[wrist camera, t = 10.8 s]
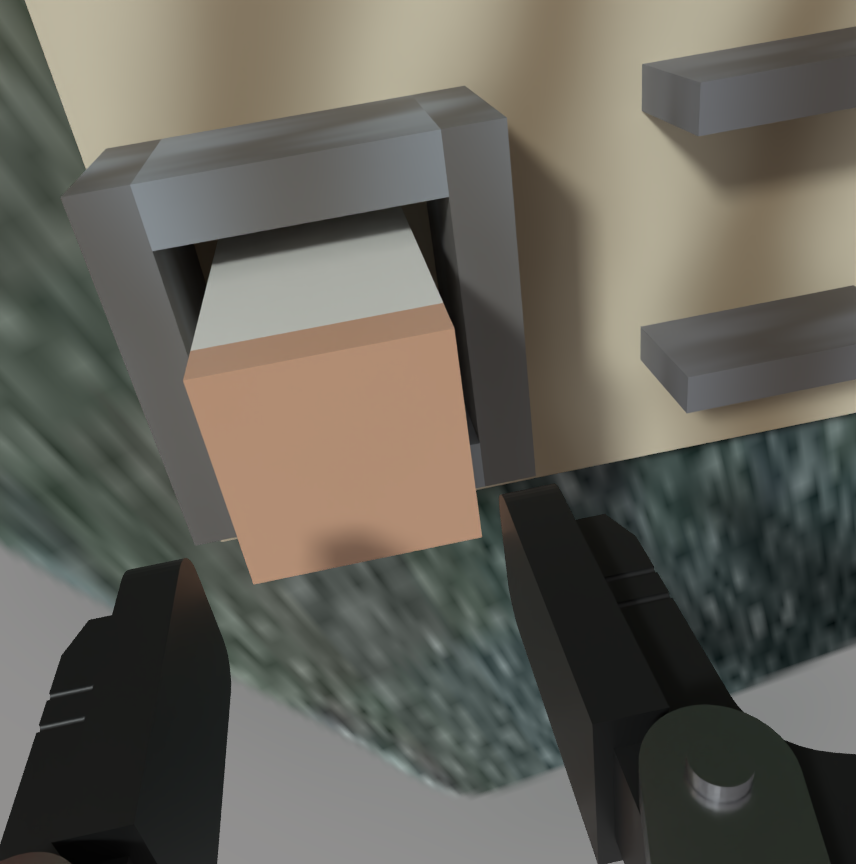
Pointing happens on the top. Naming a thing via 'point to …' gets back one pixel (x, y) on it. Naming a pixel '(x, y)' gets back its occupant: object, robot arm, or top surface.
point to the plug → (332, 396)
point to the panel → (491, 200)
